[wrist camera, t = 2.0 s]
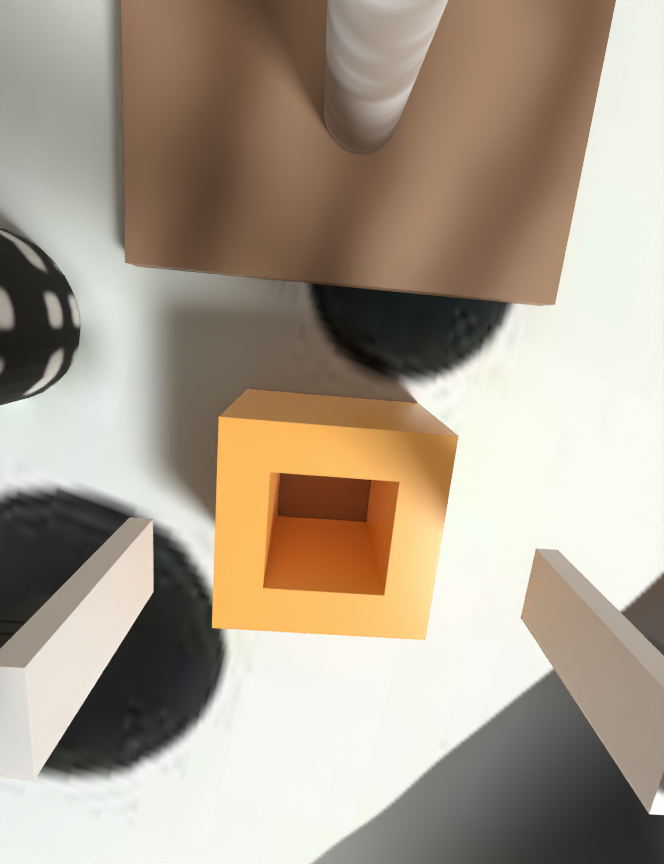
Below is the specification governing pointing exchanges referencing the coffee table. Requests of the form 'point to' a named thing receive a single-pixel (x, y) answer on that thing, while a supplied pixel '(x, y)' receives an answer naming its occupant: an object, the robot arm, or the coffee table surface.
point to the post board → (358, 209)
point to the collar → (323, 538)
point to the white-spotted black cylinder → (33, 320)
